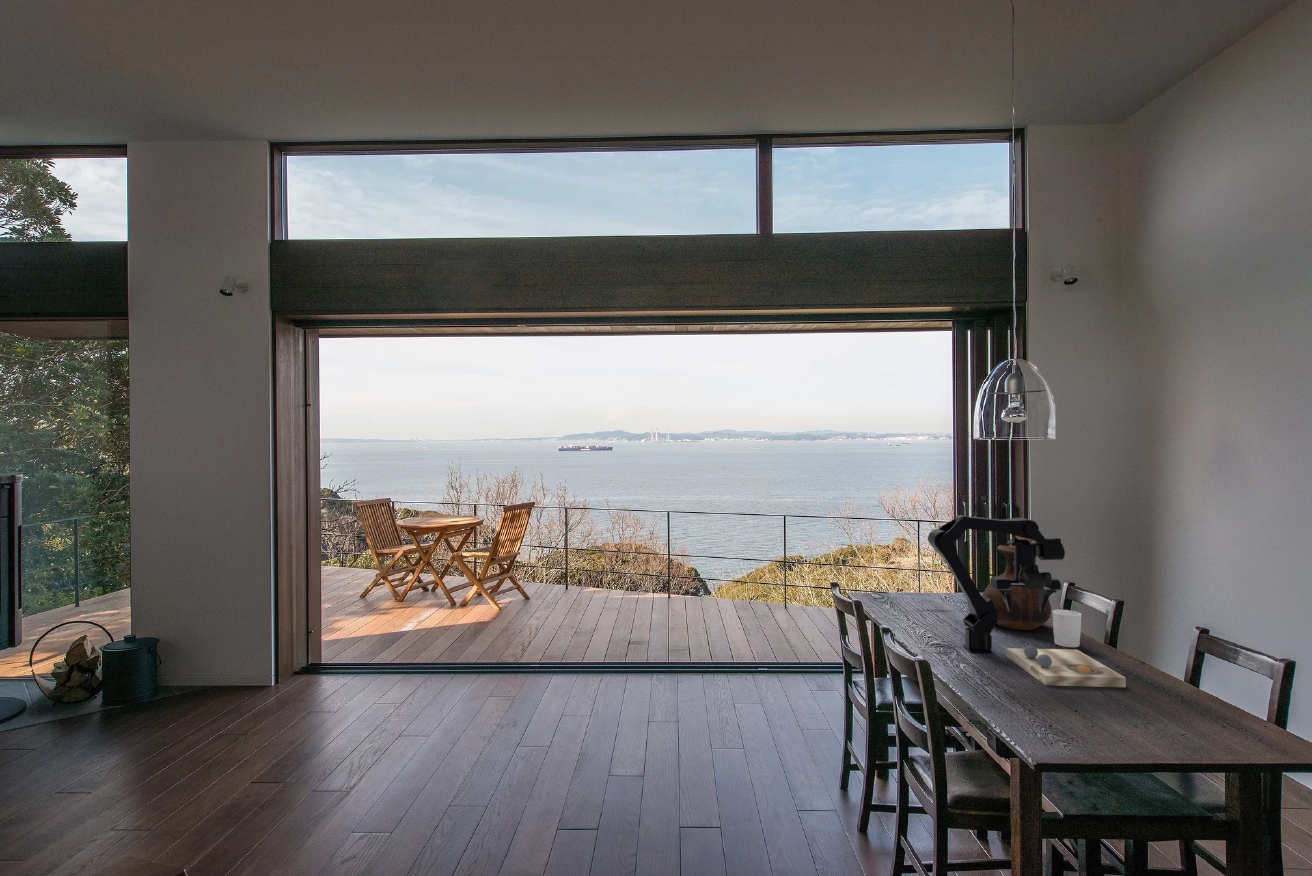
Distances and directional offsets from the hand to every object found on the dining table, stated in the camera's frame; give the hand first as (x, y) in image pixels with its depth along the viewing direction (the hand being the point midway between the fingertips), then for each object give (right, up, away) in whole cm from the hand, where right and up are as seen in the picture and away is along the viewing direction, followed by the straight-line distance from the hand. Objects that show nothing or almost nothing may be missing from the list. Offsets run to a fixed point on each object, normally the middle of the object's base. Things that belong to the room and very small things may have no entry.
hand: (1025, 611), depth 211 cm
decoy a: (-6, -8, -15) cm, 18 cm away
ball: (+3, -10, -24) cm, 27 cm away
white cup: (+17, -12, +7) cm, 22 cm away
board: (+1, -12, -18) cm, 22 cm away
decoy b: (-7, -8, -22) cm, 25 cm away
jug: (+12, -12, +29) cm, 34 cm away
